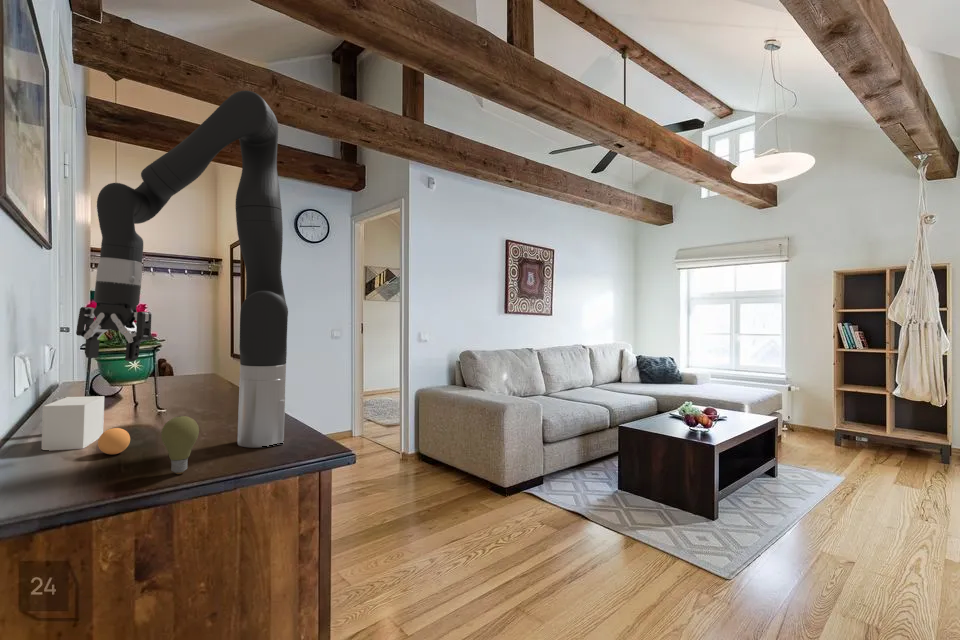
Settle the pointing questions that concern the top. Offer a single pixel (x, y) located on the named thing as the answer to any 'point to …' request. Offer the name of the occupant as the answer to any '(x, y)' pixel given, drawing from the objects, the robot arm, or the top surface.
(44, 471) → the top surface
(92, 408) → the light gray block
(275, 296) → the robot arm
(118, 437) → the orange egg
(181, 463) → the light bulb
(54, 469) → the top surface
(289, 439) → the top surface
